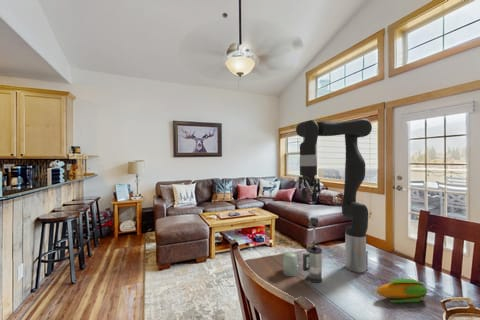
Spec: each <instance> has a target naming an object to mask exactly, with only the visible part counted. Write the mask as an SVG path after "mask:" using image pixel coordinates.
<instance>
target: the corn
mask: <svg viewBox="0 0 480 320" xmlns="http://www.w3.org/2000/svg"><path fill="white" fill-rule="evenodd" d="M376 293H377V294H378V295H379V296H382V297H385V298H388V299H390V300H389V302H390V303H400V304H401V303H419V302H421V301H422V300H424V299H425V297H426V295H427V293H428V290H427V288H426V286H425V285H424V284H422V283H421V282H420V281H418V280H415V279H413V278H412V279H411V278H398V279H392V280H389V283H386V284H382V285H381V286H379V287H378V288H377V290H376Z"/></svg>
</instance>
